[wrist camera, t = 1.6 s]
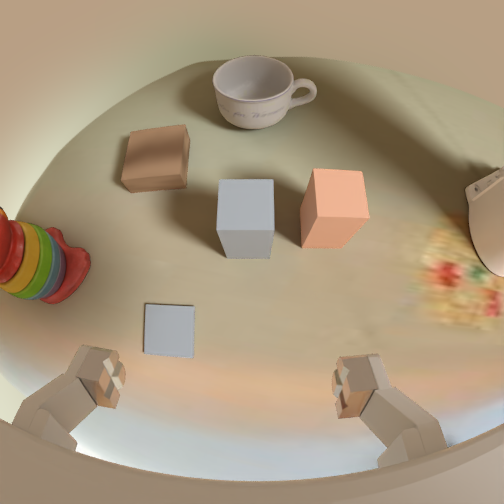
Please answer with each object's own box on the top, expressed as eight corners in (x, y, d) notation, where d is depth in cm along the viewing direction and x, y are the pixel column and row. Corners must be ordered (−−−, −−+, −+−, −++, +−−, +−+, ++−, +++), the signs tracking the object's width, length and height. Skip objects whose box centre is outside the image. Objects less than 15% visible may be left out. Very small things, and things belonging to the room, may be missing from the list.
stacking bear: (96, 258, 35) (7, 206, 18) (63, 321, 33) (-36, 303, 16) (52, 224, 37) (-26, 170, 20) (23, 280, 35) (-63, 249, 18)
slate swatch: (146, 304, 34) (145, 304, 33) (194, 306, 34) (194, 306, 33) (145, 353, 32) (144, 353, 32) (193, 357, 32) (193, 358, 32)
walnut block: (139, 147, 40) (130, 131, 36) (190, 141, 40) (185, 124, 36) (131, 193, 38) (120, 180, 34) (186, 189, 38) (179, 174, 34)
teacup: (207, 131, 40) (199, 93, 33) (232, 84, 43) (228, 47, 35) (301, 152, 39) (310, 115, 31) (315, 102, 42) (323, 65, 34)
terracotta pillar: (299, 209, 37) (313, 168, 27) (337, 210, 37) (362, 171, 27) (301, 248, 35) (317, 216, 26) (341, 248, 35) (369, 218, 26)
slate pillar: (228, 219, 37) (219, 179, 27) (269, 219, 36) (273, 179, 27) (227, 258, 35) (216, 230, 26) (269, 258, 35) (274, 230, 25)
